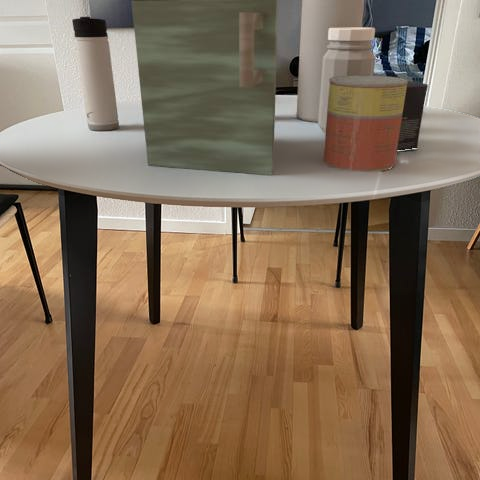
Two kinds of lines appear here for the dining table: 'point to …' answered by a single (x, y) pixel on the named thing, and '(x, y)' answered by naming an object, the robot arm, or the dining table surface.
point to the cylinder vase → (320, 46)
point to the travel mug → (96, 73)
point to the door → (208, 82)
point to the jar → (345, 60)
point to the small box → (412, 115)
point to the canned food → (363, 122)
